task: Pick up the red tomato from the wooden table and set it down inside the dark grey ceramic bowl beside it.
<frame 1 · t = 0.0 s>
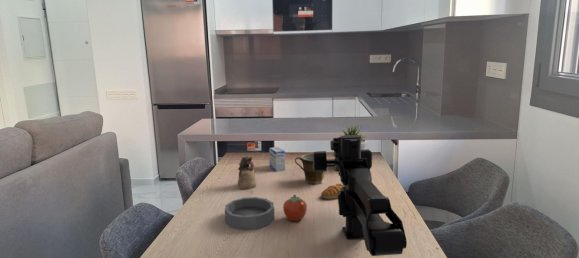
hand: (336, 153, 134), 17 cm above the table, tool horizontal, fingers open, 9 cm apart
potted plant: (350, 166, 173), on the table
pastry: (334, 196, 141), on the table
ceramic cup: (310, 181, 156), on the table
figurine: (247, 186, 152), on the table
medicine box: (277, 168, 172), on the table
tomato: (295, 219, 123), on the table
bowl: (250, 218, 123), on the table
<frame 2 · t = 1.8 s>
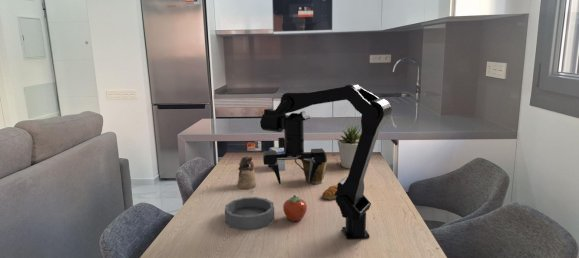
hand: (294, 183, 120), 12 cm above the table, tool pointing down, fingers open, 9 cm apart
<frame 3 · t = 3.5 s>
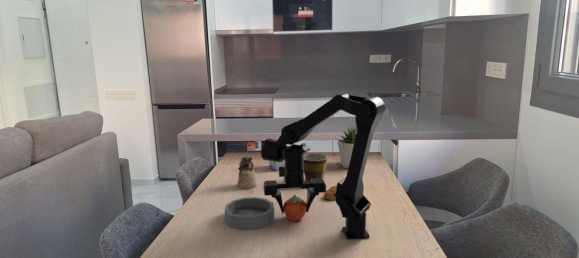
hand: (294, 212, 122), 2 cm above the table, tool pointing down, fingers closed on tomato, 7 cm apart
tomato: (295, 219, 123), on the table, touching gripper
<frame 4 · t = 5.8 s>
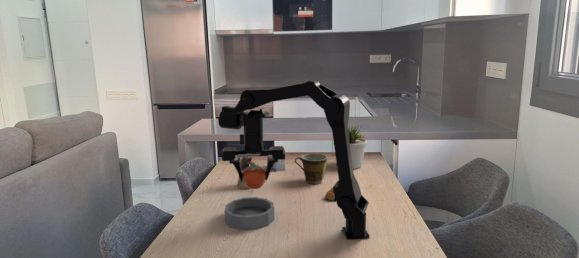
hand: (254, 180, 121), 13 cm above the table, tool pointing down, fingers closed on tomato, 7 cm apart
tomato: (255, 187, 121), point 10 cm above the table, touching gripper
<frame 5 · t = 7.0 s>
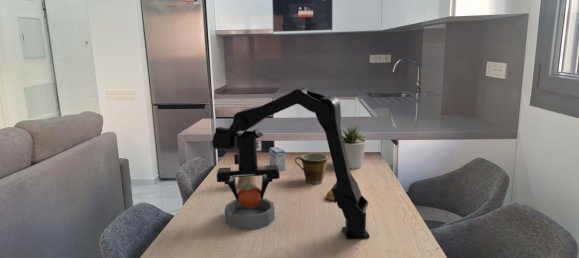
hand: (249, 199, 122), 6 cm above the table, tool pointing down, fingers closed on tomato, 7 cm apart
tomato: (250, 206, 123), point 4 cm above the table, touching gripper
when the fingers open (5 cm above the table, at t = 8.2 s): tomato drops 2 cm, resting on bowl.
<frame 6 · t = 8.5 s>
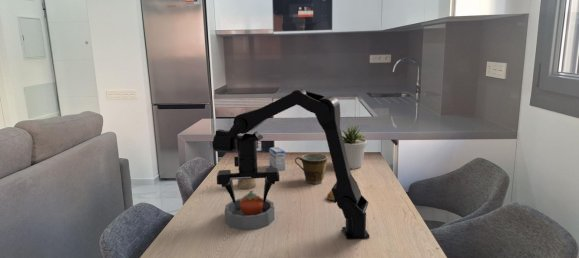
hand: (249, 202, 122), 5 cm above the table, tool pointing down, fingers open, 9 cm apart
tomato: (251, 215, 123), point 1 cm above the table, touching bowl
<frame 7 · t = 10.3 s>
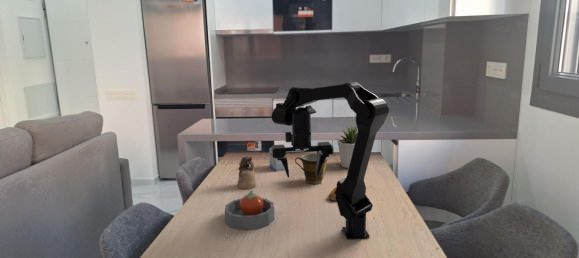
hand: (302, 176, 124), 13 cm above the table, tool pointing down, fingers open, 9 cm apart
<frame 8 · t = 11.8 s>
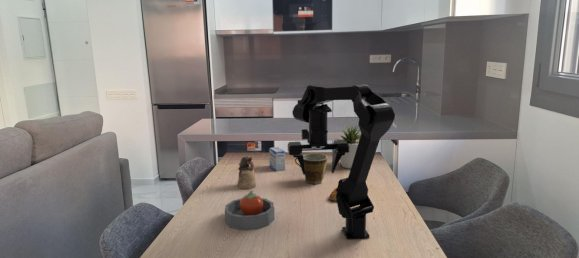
hand: (318, 173, 125), 13 cm above the table, tool pointing down, fingers open, 9 cm apart
at the end: tomato inside the target area on the bowl (0.6 cm from its centre), point 0.8 cm above the bowl's base; the gripper is holding nothing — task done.
